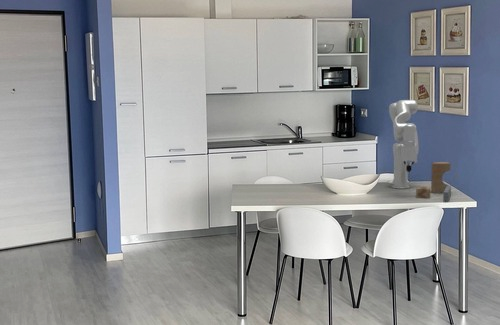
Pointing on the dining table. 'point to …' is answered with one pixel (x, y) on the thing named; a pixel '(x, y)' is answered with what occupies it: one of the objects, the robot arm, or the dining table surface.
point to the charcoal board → (447, 193)
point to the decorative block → (438, 176)
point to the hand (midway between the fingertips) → (408, 171)
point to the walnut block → (423, 192)
